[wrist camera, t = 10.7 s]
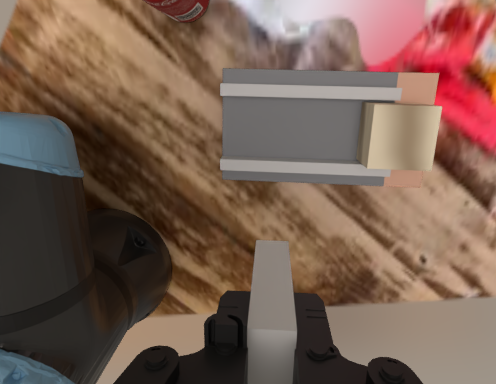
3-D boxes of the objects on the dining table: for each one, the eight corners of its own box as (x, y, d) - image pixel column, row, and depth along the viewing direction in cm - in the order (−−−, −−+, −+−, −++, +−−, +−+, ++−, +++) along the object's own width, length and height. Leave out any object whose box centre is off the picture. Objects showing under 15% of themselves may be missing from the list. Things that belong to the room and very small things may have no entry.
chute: (223, 177, 43) (220, 183, 40) (223, 68, 39) (220, 67, 37) (417, 185, 42) (426, 192, 39) (435, 73, 38) (446, 72, 36)
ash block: (356, 158, 40) (367, 168, 35) (362, 101, 39) (374, 104, 34) (412, 160, 40) (431, 171, 35) (421, 103, 38) (442, 106, 33)
